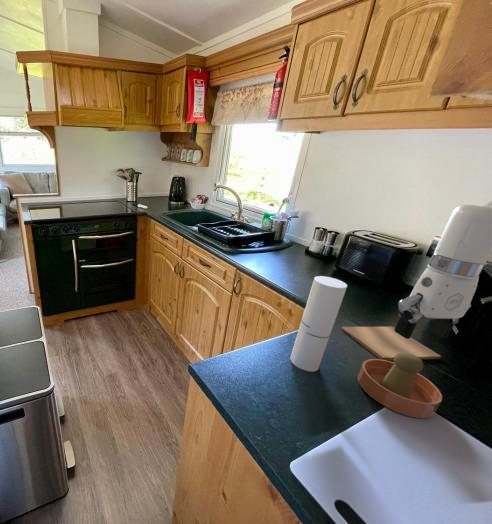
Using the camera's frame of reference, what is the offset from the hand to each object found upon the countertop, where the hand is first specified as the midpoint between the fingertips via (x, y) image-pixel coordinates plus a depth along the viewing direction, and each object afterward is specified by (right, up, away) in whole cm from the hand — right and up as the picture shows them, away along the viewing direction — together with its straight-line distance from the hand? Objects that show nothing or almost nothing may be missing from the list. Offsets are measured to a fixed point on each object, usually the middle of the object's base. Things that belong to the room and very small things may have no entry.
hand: (419, 335), depth 66 cm
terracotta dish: (-1, -16, +6) cm, 17 cm away
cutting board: (+16, -10, +27) cm, 33 cm away
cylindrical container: (-18, -12, +15) cm, 26 cm away
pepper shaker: (-1, -16, +6) cm, 17 cm away
